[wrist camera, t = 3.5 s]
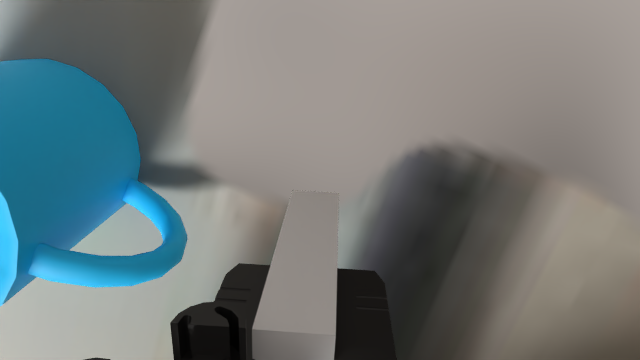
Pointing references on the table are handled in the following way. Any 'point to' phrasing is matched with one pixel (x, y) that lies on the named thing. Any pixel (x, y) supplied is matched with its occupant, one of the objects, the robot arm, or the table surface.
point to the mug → (70, 181)
